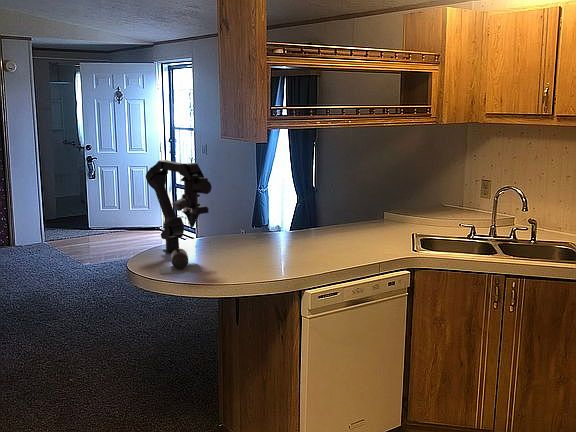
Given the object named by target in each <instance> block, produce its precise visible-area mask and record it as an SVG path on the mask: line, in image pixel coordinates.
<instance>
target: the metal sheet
mask: <svg viewBox="0 0 576 432" xmlns="http://www.w3.org/2000/svg"><path fill="white" fill-rule="evenodd" d="M159 271H160V274H161V275H172V274H173V275H174V274H175V273H176V274H185V272H190V273H202V272H203V269H202V268H201V266H200V265H199V264H197V263H196V264H188V265H187V266H186V267H185V268H183V269H177V268H175V267H174V266H173V265H170V266H169V265H168V266H167V265H166V266H159Z"/></svg>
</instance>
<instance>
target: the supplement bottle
mask: <svg viewBox="0 0 576 432" xmlns="http://www.w3.org/2000/svg"><path fill="white" fill-rule="evenodd" d="M170 255H171V256H170V260H171V264H172V265H171V266H174V267H175V268H177V269H183V268H185V267H186V266H187V265H189V255H188V253H187V251H186V250H185V249H182V248H179V249H176V250H174V251H173V252H172V253H170Z"/></svg>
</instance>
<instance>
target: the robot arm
mask: <svg viewBox="0 0 576 432" xmlns="http://www.w3.org/2000/svg"><path fill="white" fill-rule="evenodd" d="M169 171H170V172H174V173H178V174H179V175H180V176H182V178H181V179H180V182H183V189H184V193H183V194H181V198H179V199H178V200H177V199H176V200H175V201H173V202H171V200H170V196H169V193H168V191H167V188H166V183H167V175H168V174H169ZM145 179H146V182H147V184H148V185H149V186H150V188H152V189H153V190H154V192H155V195H156V198H157V201H158V203H159V206H160V209H161V211H162V214H163V217H164V221H163V228H164V229H163V230H162V231H161V233H160V238H161V240H165V249H162V251H163V252H165V253H168V254H172V252H173V251H174V250H176V249H180V243H179V242H180V240H179V238H183V237H184V236H183V235H184V232H185V226H184V225H185V224H184V222H183V218H182V216H177V215H176V213H175V211H177V212H180V211H181V212H182V214H184V215H185V216H186V218H187V221H188V224H189V227H190V228H194V227H195V225H196V223H197V220H198V218H199V216H200V215H203V214H208V213H209V210H210V208H209V207H208V206H206V205H201V204H200V203H199V199H198V198H199V197H200V194H202V195H209V193H211V192H212V185H211V184H212V183H211V182H210V181H209V180H208V179H209V178H207V177H205V175H204V173H203V172H202V170H201V167H200V166H199V163H198V162H187V163H182V162H178V161H172V160H168V159H162V160H158V161H157V162H156V163H155V164H154V165H153V166H151V167H150V168H149V170H148V171H147V172H146V173H145Z"/></svg>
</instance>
